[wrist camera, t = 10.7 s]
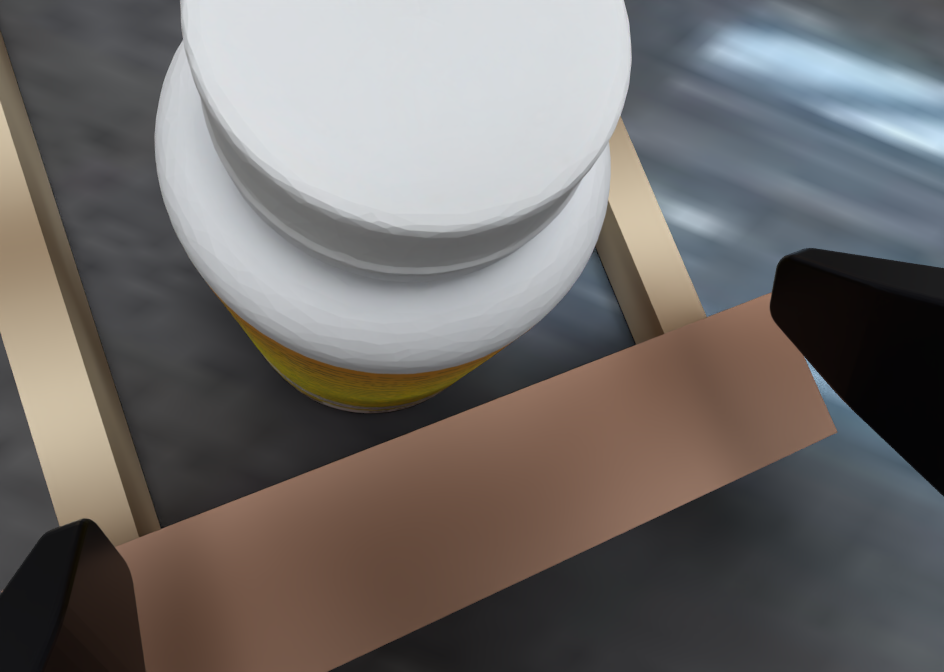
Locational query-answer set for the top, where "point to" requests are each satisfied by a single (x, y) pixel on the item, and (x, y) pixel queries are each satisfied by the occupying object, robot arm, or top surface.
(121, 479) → the rail track
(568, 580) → the top surface
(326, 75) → the supplement bottle
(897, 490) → the top surface
